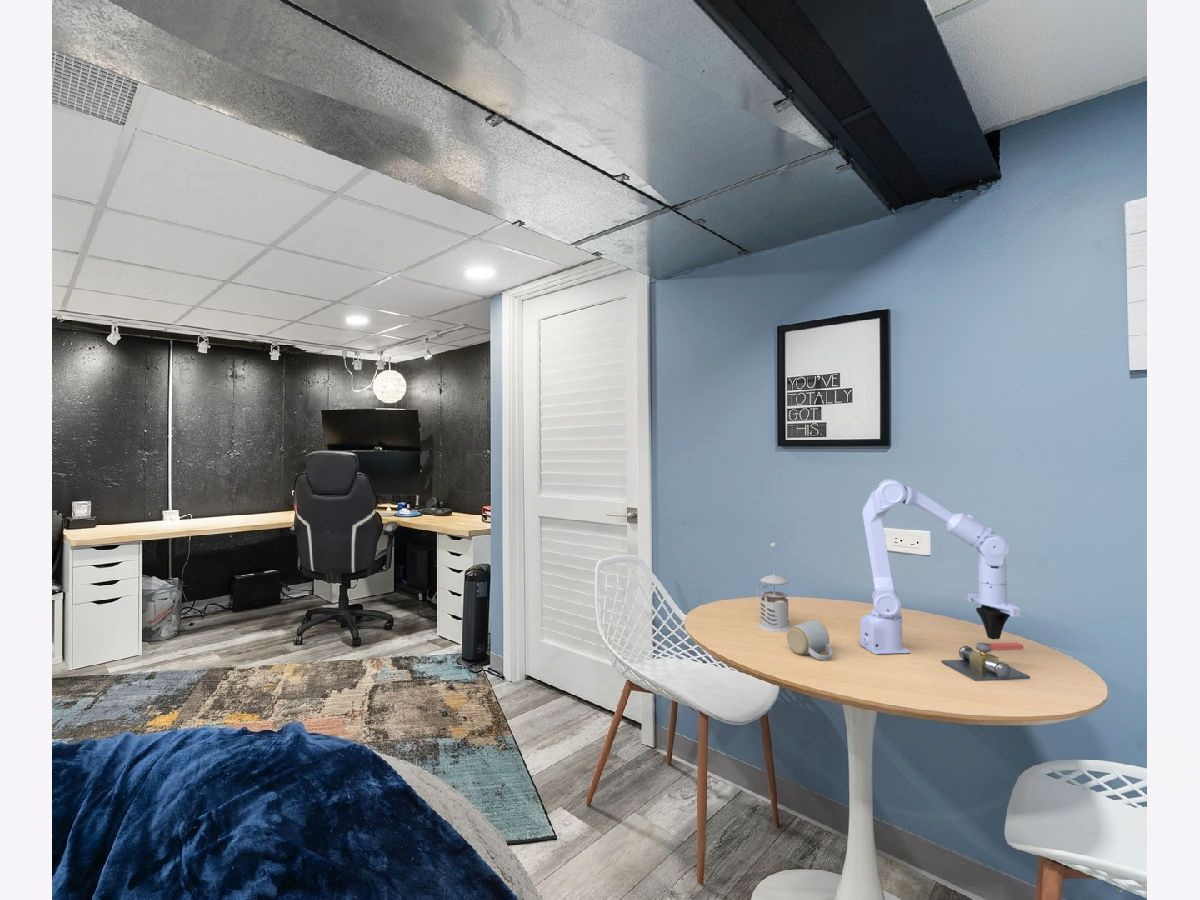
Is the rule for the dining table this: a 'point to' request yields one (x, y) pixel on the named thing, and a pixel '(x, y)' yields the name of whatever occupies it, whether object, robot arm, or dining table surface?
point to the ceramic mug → (809, 639)
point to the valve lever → (998, 646)
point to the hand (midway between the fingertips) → (993, 638)
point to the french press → (774, 604)
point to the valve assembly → (983, 666)
